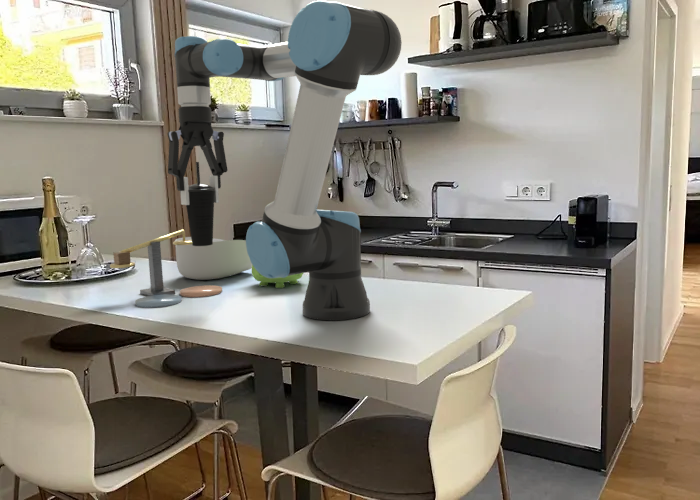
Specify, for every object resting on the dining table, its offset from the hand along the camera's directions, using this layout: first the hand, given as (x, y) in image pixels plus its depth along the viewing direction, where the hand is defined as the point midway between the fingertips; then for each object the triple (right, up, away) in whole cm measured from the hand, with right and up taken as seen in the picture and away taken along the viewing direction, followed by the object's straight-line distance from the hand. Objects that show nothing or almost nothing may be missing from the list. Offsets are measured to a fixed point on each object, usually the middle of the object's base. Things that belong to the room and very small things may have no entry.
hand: (200, 203), depth 151 cm
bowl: (-6, -20, +39) cm, 44 cm away
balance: (-15, -23, +16) cm, 32 cm away
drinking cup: (0, -10, +2) cm, 10 cm away
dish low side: (-12, -24, +6) cm, 28 cm away
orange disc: (-3, -23, +16) cm, 28 cm away
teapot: (+15, -21, +25) cm, 36 cm away
